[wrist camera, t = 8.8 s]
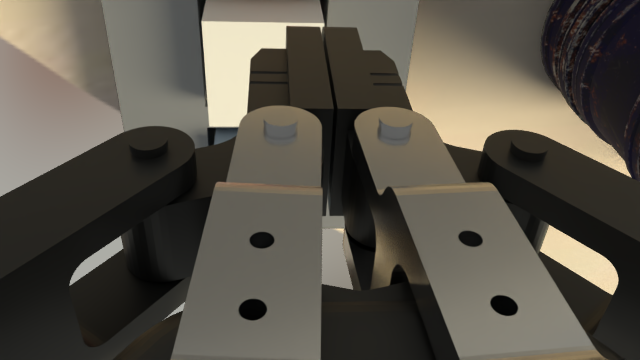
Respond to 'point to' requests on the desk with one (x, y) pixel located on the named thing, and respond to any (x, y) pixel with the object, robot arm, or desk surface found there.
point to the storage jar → (598, 68)
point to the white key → (244, 47)
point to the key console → (189, 67)
